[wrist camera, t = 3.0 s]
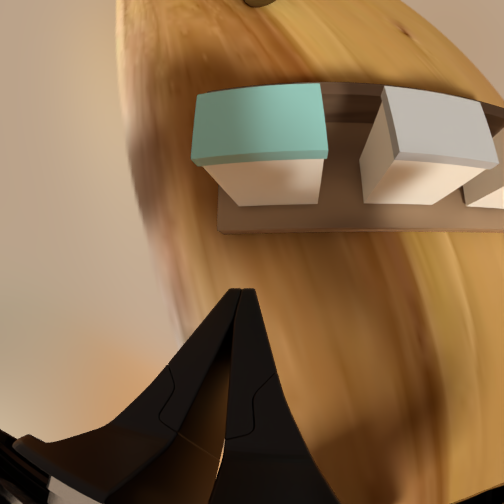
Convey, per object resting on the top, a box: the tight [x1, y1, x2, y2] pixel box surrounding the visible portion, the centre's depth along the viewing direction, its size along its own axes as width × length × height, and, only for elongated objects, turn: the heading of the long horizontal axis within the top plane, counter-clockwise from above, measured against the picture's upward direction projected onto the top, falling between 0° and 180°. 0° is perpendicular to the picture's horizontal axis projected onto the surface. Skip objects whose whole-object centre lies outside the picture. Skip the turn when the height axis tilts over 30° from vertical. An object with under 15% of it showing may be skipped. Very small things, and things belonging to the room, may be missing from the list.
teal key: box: [191, 83, 328, 206], centre depth 14 cm, size 3×5×8 cm, turn 90°
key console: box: [207, 82, 504, 234], centre depth 16 cm, size 9×24×5 cm, turn 90°
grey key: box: [359, 86, 499, 205], centre depth 13 cm, size 3×5×8 cm, turn 90°
